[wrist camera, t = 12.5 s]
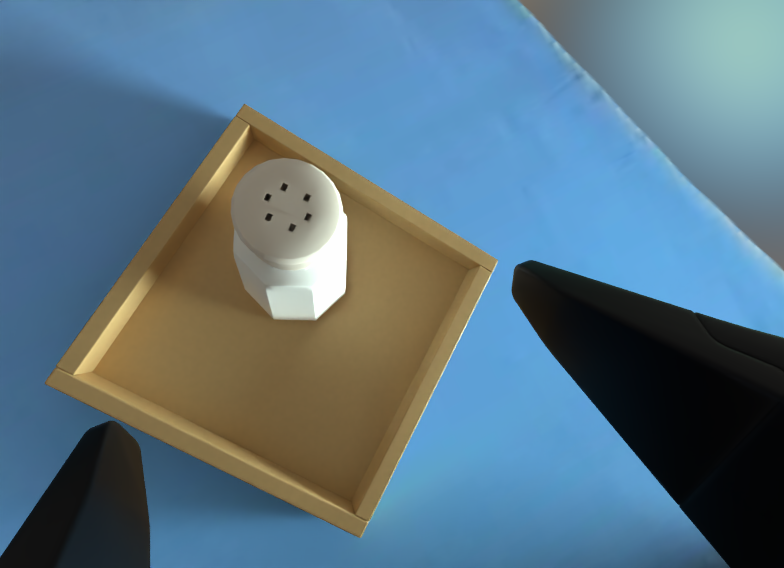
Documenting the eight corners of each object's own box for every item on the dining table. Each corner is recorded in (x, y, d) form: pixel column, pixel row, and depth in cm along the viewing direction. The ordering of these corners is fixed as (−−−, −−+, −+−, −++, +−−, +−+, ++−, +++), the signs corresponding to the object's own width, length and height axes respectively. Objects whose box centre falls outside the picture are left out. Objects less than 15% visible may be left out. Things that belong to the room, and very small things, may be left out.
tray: (354, 516, 21) (360, 539, 18) (75, 377, 19) (42, 383, 16) (479, 267, 24) (498, 260, 21) (250, 127, 22) (244, 103, 20)
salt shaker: (365, 248, 22) (423, 166, 11) (323, 341, 21) (342, 350, 10) (271, 203, 21) (235, 68, 10) (222, 297, 20) (125, 256, 9)
